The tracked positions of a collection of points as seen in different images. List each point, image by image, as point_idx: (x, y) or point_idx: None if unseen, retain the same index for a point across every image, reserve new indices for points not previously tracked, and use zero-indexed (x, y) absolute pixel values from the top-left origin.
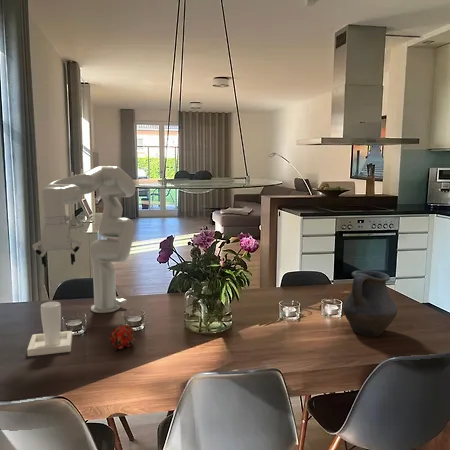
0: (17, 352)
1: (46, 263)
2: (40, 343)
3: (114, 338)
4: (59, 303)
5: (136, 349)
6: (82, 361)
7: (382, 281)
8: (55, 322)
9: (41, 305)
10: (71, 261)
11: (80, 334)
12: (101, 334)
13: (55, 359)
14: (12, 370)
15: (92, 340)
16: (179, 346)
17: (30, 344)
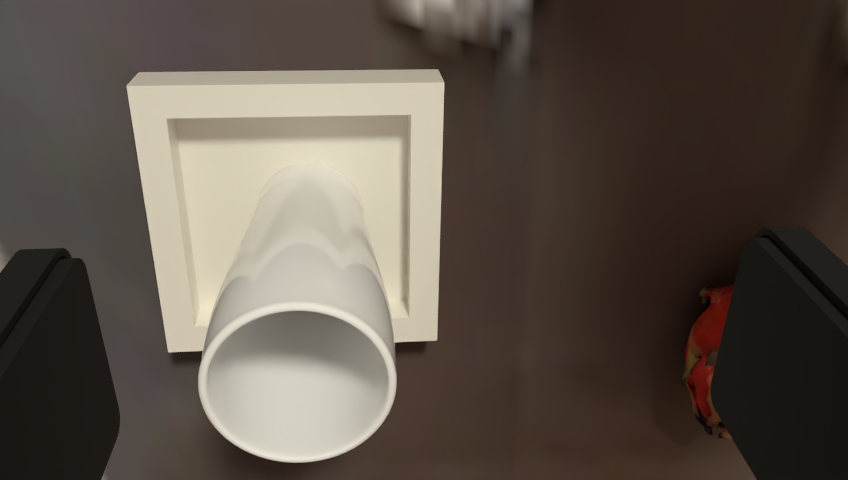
0: (89, 257)
1: (77, 331)
2: (219, 177)
3: (712, 414)
4: (388, 374)
5: None
6: (496, 440)
7: None
8: (345, 353)
9: (208, 401)
10: (751, 451)
11: (500, 36)
12: (651, 79)
13: None
14: (141, 469)
15: (575, 176)
16: None
17: (167, 278)
